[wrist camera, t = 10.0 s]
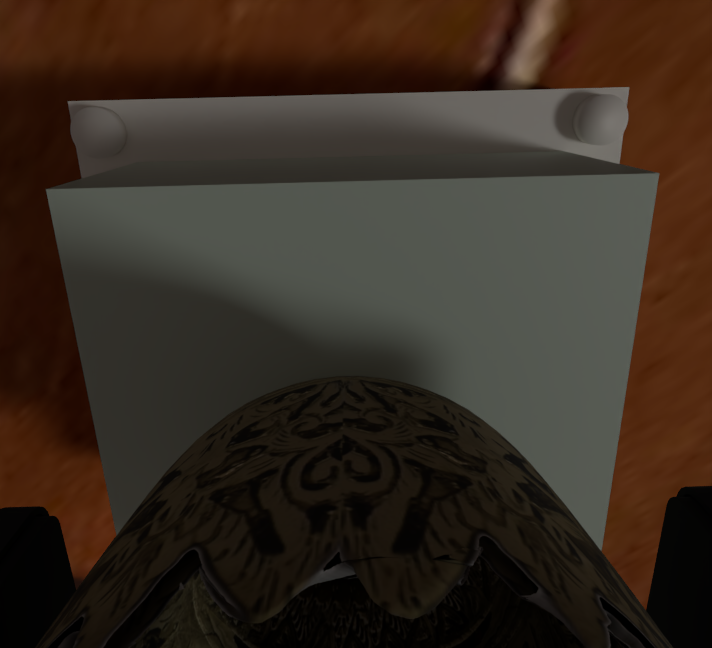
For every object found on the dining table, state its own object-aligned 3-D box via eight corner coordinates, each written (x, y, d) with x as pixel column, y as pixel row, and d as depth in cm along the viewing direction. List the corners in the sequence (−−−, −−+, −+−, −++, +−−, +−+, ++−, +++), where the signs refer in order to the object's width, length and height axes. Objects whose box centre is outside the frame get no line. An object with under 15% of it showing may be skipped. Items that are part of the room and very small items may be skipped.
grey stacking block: (134, 101, 19) (-62, 101, 10) (561, 90, 20) (760, 81, 10) (187, 465, 24) (88, 693, 15) (527, 455, 24) (640, 675, 15)
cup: (520, 571, 14) (726, 1127, 6) (205, 593, 14) (42, 1166, 6) (530, 260, 11) (901, 583, 4) (142, 289, 11) (-260, 661, 4)
